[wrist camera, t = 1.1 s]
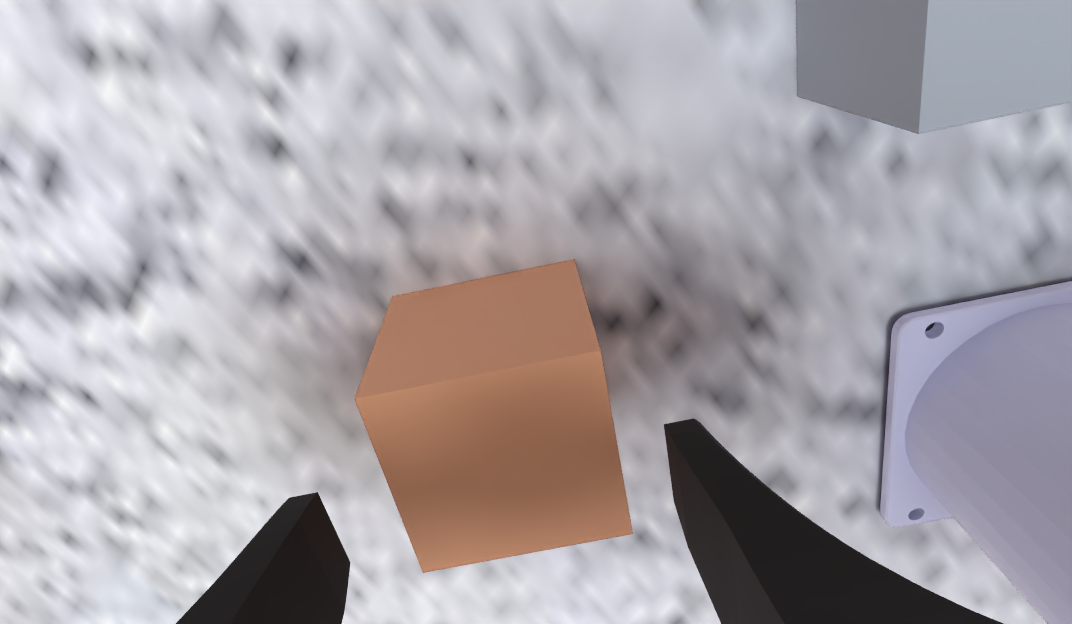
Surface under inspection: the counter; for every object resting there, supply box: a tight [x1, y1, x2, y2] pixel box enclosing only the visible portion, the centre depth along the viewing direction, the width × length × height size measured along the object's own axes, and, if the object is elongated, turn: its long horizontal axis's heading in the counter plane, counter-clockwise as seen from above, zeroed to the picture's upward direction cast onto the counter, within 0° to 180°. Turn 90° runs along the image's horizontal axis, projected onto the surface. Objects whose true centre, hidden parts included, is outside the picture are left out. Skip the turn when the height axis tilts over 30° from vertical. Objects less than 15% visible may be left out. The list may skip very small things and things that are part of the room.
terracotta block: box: [355, 259, 633, 573], centre depth 16 cm, size 5×5×5 cm
